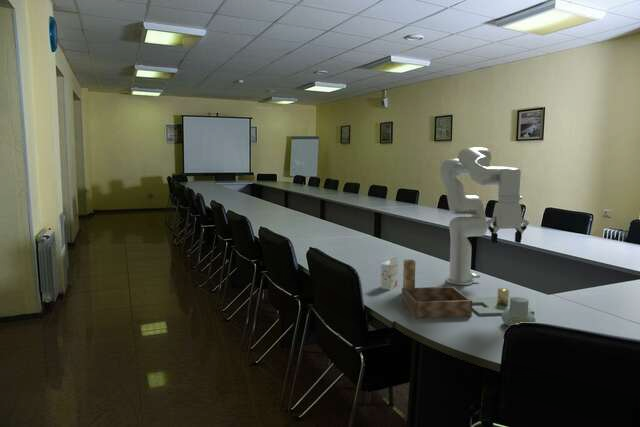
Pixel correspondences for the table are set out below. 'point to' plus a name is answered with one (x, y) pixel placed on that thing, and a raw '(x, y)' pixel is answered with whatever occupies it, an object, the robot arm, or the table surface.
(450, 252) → the robot arm
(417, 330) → the table surface
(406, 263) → the key peg
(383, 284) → the ink cartridge box
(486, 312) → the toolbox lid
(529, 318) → the air freshener
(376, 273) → the table surface
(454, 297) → the toolbox
